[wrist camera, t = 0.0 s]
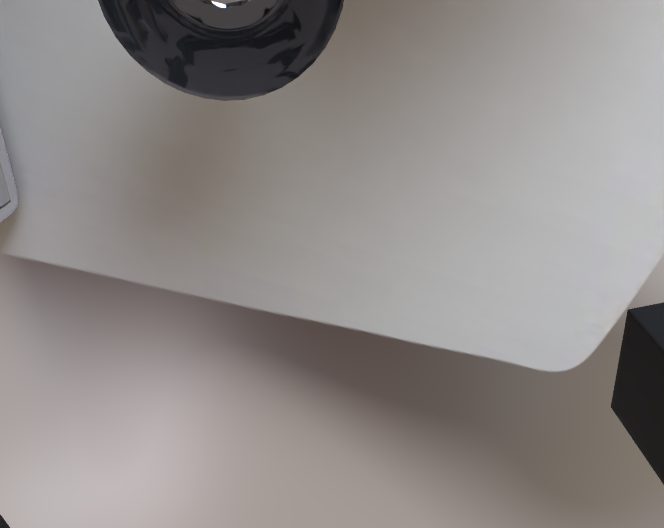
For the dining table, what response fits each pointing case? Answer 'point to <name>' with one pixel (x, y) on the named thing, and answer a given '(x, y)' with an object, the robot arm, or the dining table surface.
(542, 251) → the dining table surface
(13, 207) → the digital clock
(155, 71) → the wine glass
